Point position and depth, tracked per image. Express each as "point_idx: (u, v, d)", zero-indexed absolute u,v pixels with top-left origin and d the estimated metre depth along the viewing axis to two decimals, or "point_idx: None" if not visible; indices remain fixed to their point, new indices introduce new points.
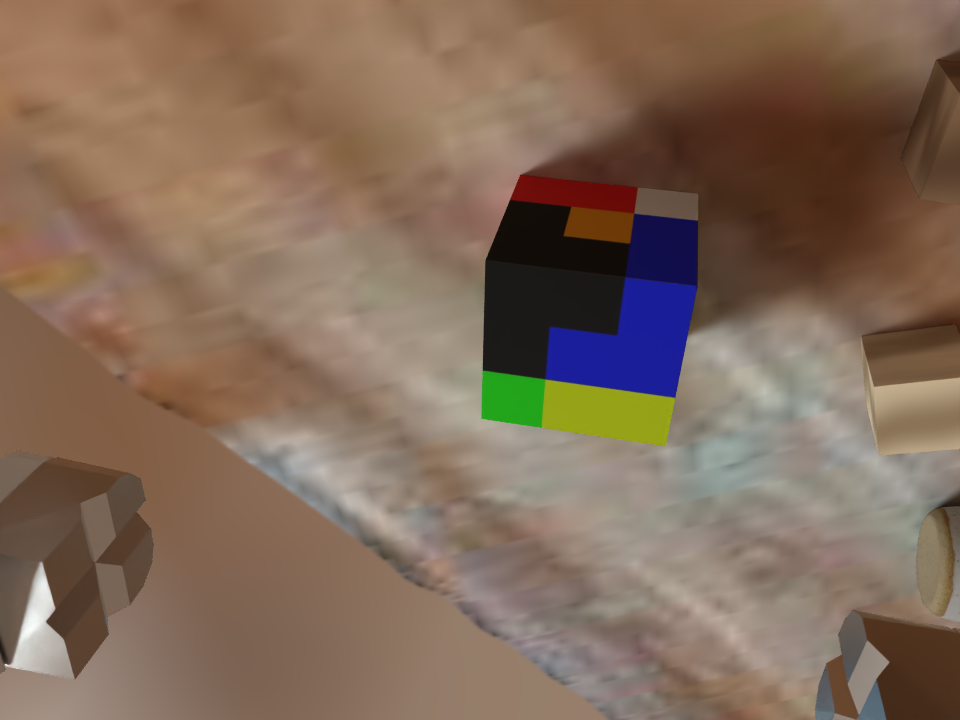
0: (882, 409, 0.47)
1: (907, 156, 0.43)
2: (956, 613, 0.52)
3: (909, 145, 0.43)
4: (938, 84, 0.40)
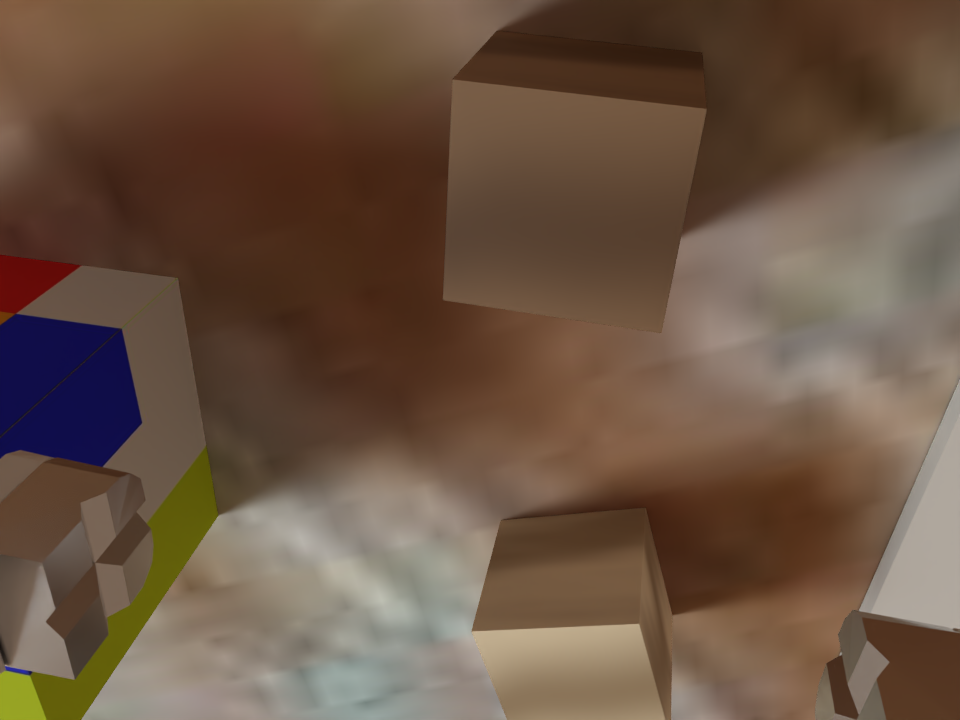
0: (497, 668, 0.26)
1: None
2: None
3: None
4: None
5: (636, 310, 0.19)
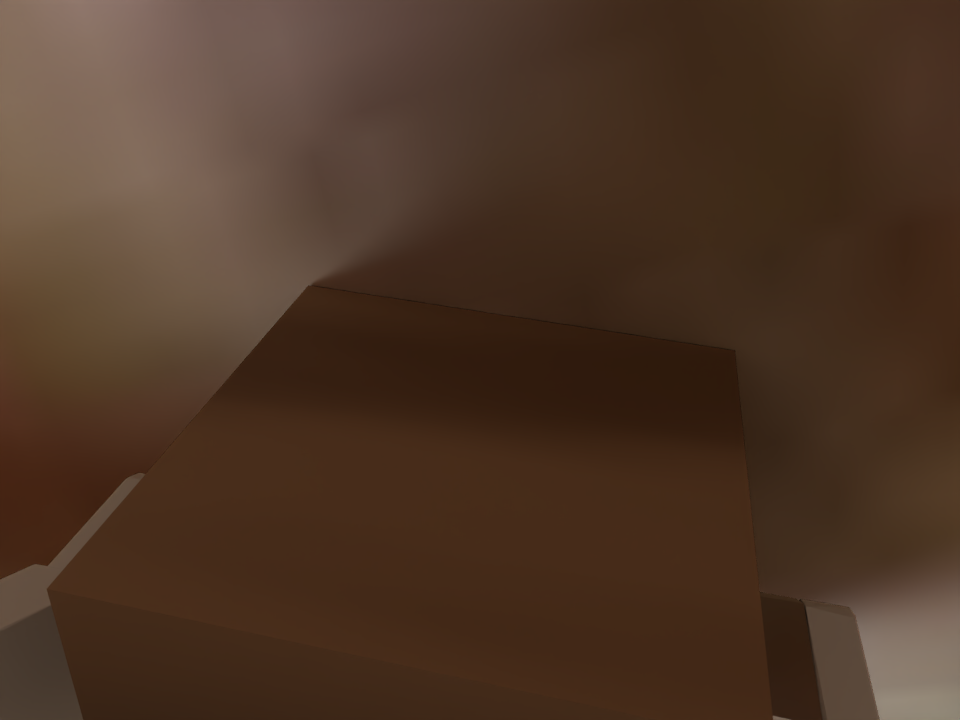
0: None
1: None
2: None
3: None
4: None
5: None
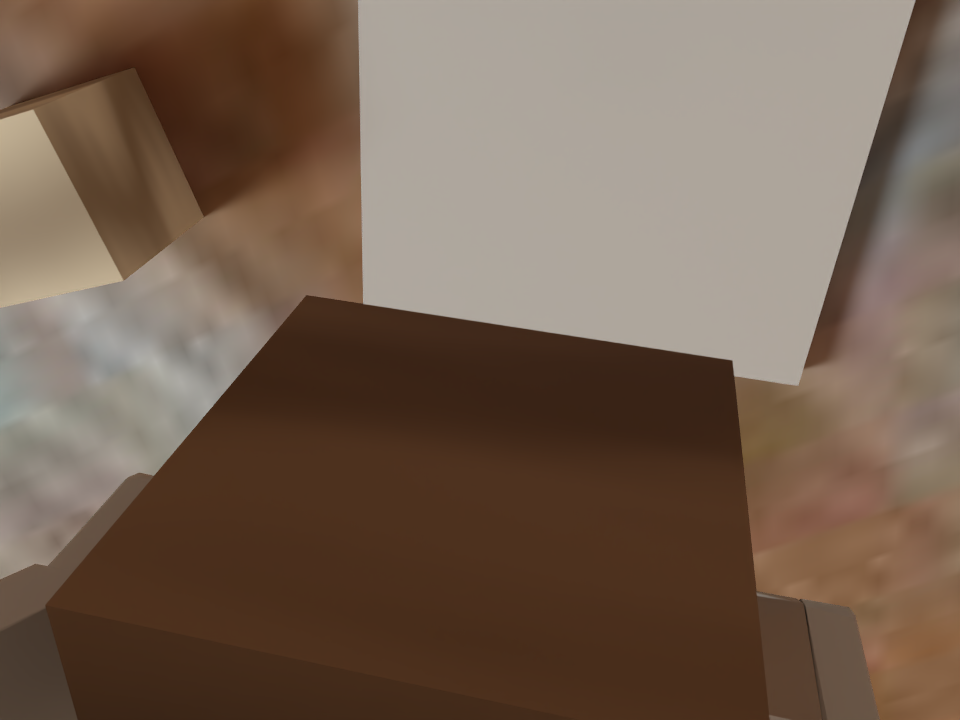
0: None
1: None
2: None
3: None
4: None
5: None
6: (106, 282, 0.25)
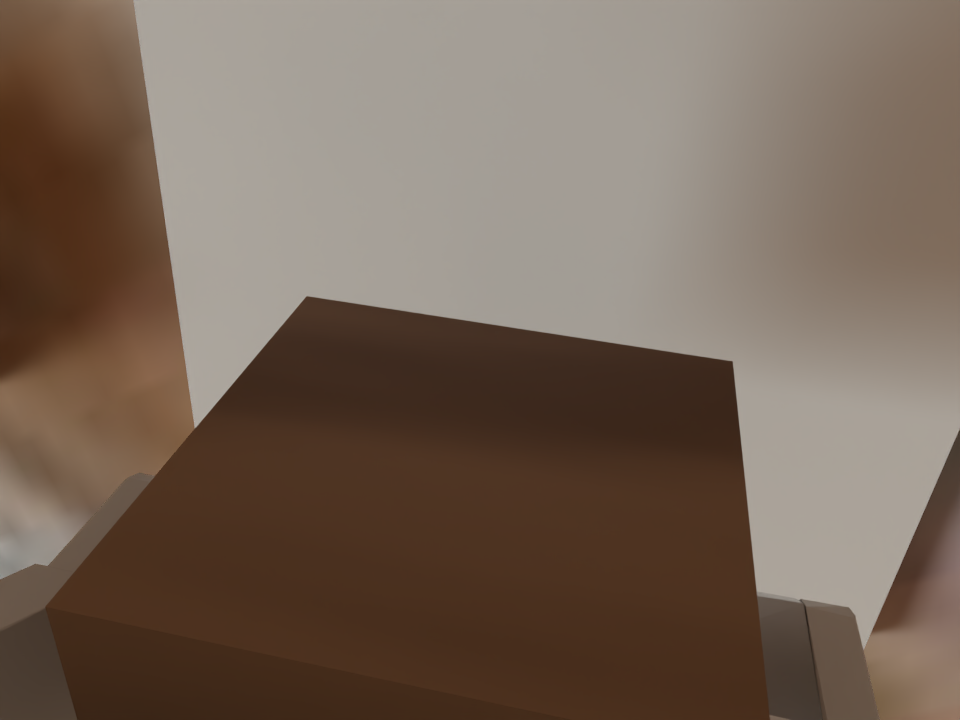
0: None
1: None
2: None
3: None
4: None
5: None
6: None
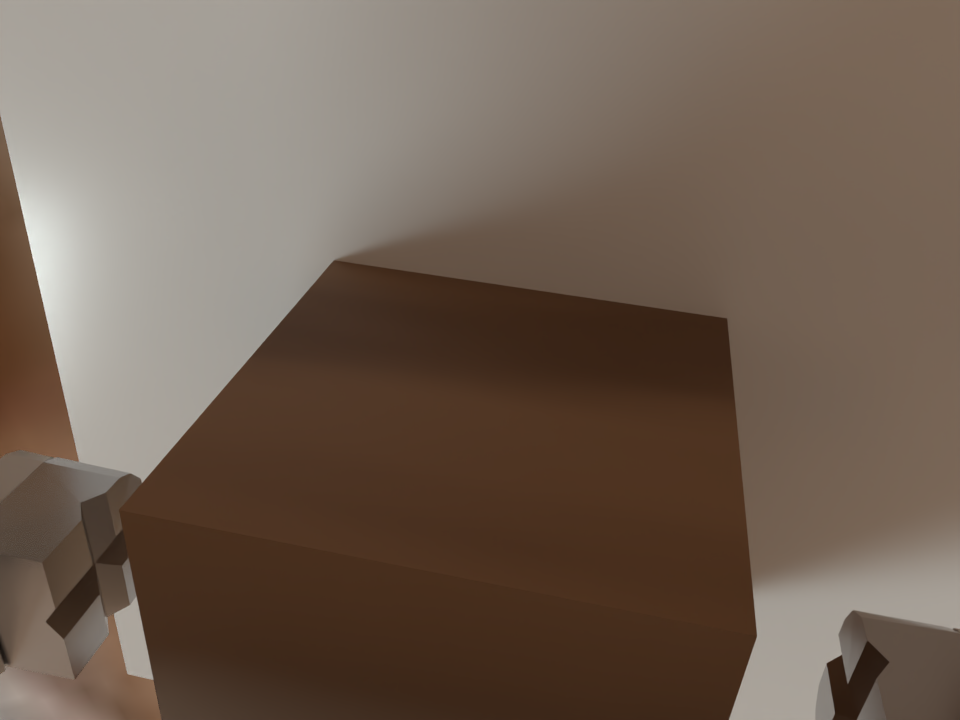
0: None
1: None
2: None
3: None
4: None
5: None
6: None
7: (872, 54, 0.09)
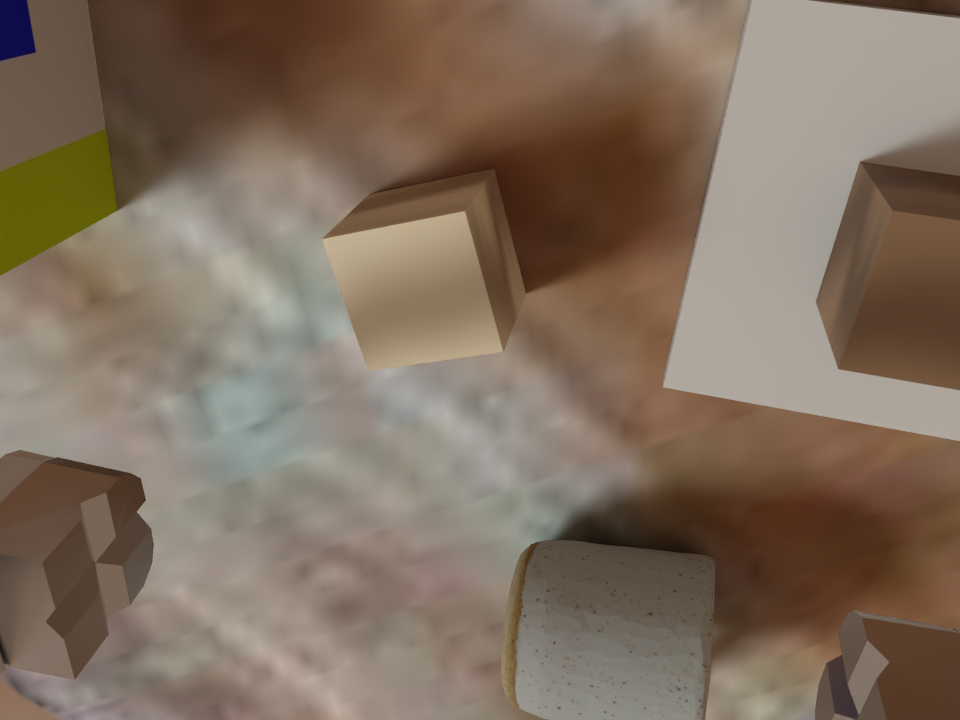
0: (347, 282, 0.29)
1: (823, 301, 0.29)
2: (529, 702, 0.34)
3: (825, 285, 0.29)
4: (863, 196, 0.26)
5: None
6: (486, 352, 0.29)
7: None
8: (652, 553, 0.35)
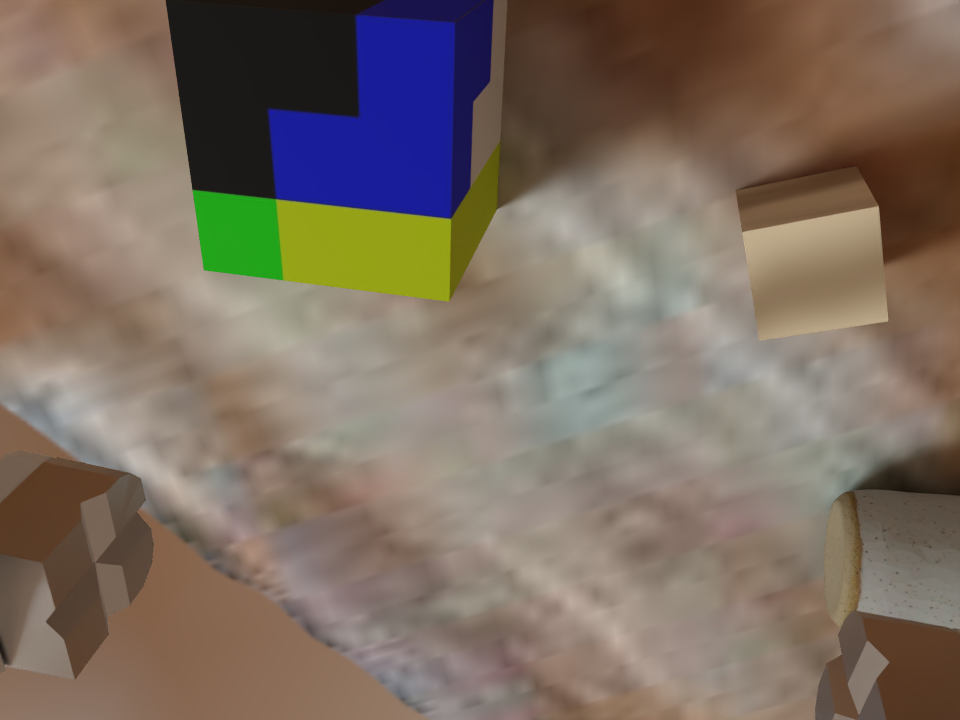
0: (757, 267, 0.35)
1: None
2: None
3: None
4: None
5: None
6: (872, 322, 0.35)
7: None
8: None
